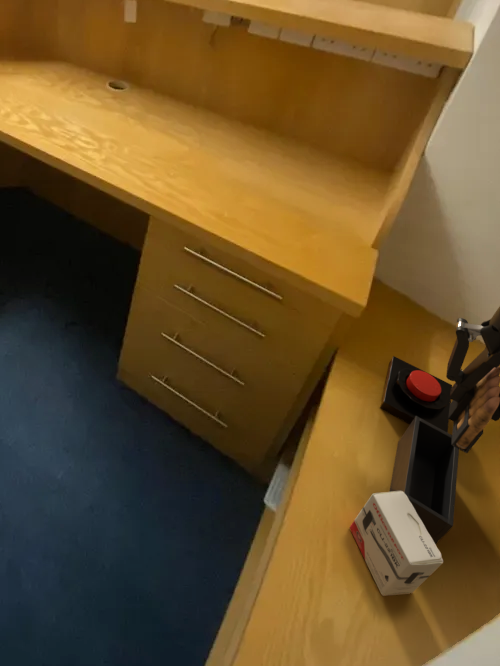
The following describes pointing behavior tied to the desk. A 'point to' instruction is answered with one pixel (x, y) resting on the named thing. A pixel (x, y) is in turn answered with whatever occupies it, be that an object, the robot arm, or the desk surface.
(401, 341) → the desk surface
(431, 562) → the ink box
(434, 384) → the button
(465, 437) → the ammunition clip
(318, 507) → the desk surface
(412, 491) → the box
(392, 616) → the desk surface
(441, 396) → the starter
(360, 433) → the desk surface
